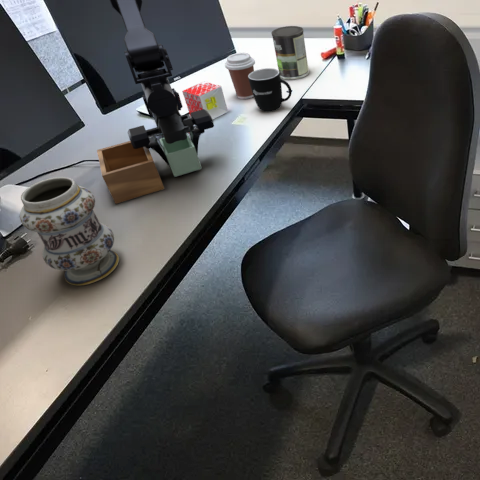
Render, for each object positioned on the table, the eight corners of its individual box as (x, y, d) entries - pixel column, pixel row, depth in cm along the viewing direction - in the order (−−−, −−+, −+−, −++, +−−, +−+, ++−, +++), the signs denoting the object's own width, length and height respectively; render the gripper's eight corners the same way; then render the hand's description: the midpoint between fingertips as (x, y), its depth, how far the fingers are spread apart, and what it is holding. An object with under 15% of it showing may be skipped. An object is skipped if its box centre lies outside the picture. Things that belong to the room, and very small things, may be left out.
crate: (109, 176, 120) (96, 149, 115) (154, 163, 123) (144, 136, 118) (115, 204, 110) (101, 175, 105) (164, 188, 113) (153, 160, 109)
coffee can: (284, 82, 159) (276, 37, 151) (275, 72, 167) (267, 30, 158) (313, 75, 162) (307, 31, 153) (303, 66, 170) (297, 23, 161)
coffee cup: (267, 92, 154) (259, 54, 146) (244, 103, 149) (234, 63, 141) (250, 86, 159) (241, 49, 151) (227, 96, 154) (217, 58, 146)
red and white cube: (207, 122, 140) (199, 96, 135) (190, 116, 144) (182, 91, 139) (228, 111, 145) (221, 85, 140) (211, 106, 149) (204, 81, 144)
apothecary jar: (133, 245, 98) (95, 167, 86) (112, 287, 88) (66, 207, 77) (74, 250, 98) (29, 173, 86) (46, 292, 88) (-9, 213, 77)
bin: (167, 160, 122) (159, 138, 118) (193, 152, 124) (185, 131, 120) (174, 177, 115) (166, 154, 112) (201, 168, 117) (194, 146, 114)
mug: (250, 113, 142) (242, 79, 136) (262, 100, 149) (255, 67, 143) (289, 114, 140) (282, 80, 133) (299, 101, 146) (293, 68, 140)
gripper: (122, 124, 100) (148, 187, 110) (210, 100, 106) (228, 162, 116) (116, 105, 108) (141, 166, 118) (198, 85, 114) (216, 144, 124)
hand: (182, 160), depth 119 cm, fingers closed on bin, 6 cm apart
